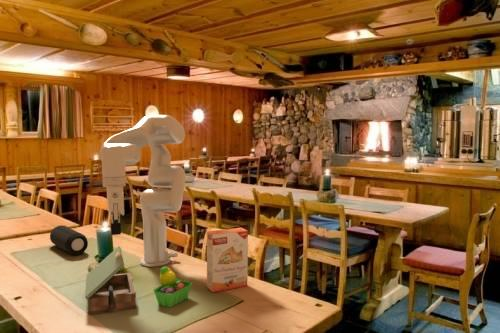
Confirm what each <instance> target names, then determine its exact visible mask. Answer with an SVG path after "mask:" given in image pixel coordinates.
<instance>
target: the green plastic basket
mask: <svg viewBox="0 0 500 333" xmlns="http://www.w3.org/2000/svg"><path fill="white" fill-rule="evenodd" d="M159 271H160V272H159V283H160V286H158V287H156V288H154V289H153V293H154V295H155V298H156V301H157V303H158V305H161V306H163V307H166V308H167V307H168V308H171V307H173V306H175V305H177V304H179V303H180V302H182V301H184V300H187V299H188V298H189V294H190V291H191V290H190V289H191V287H192V284H193V283H192V282H190V281H184V280H182V279H177V275H176V274H175V272H174V271H173V270H172V269H171V268H170V267H168V266H161V268H160V270H159Z"/></svg>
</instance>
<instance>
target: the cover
mask: <svg viewBox="0 0 500 333" xmlns="http://www.w3.org/2000/svg"><path fill="white" fill-rule="evenodd" d="M124 267H125V262H124V256H123V253H122V247H121V246H120V245H118V246H117V247H116V248H115V249H114V250H113V251H111V252H110V253H109V254H108V255H107V256H105V257H104V259H103V260H101V262H99V263H98V264H97V265H96V266H95V267H94V268H93V269H92V270H90V271H89V272H88V273H87V274H86V278H85V290H84V291H85V293H84V298H85V299H86V300H88V298H90V297H91V296H92V295H93V294H94V293H95V292H96V291H97V290H98V289H99V288H100V287H102V286H103V285H104V284H105V283H106V282H107V281H108V280H109V279H110V278H111V277H113V276H114V275H115V274H118V272H119V271H120V270H122V269H123V268H124Z"/></svg>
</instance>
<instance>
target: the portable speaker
mask: <svg viewBox="0 0 500 333" xmlns="http://www.w3.org/2000/svg"><path fill="white" fill-rule="evenodd" d="M49 239H50V242H51V243H52V244H54V245H55V246H57V247H58V248H60V249H61V250H63V251H64V252H67V253H68V254H70V255H73V256H77V255H80V254H83V253H84V252H85V251H86V250H87V248H88V245H89V242H88V238H87V236H86V235H85V234H83V233H81V232H78V231H77V230H75V229H72V228H71V227H68V226H66V225H57V226H55V227H54V228H53V229H52V230H51V232H50V234H49Z"/></svg>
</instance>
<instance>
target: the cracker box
mask: <svg viewBox="0 0 500 333" xmlns="http://www.w3.org/2000/svg"><path fill="white" fill-rule="evenodd" d="M248 251H249V230H247V229H245V228H243V227H236V228H226V229H218V230H209V231H206V287H207V289H208V290H210V291H211V292H212V293H215V292H216V293H217V292H221V291H227V290H232V289H238V288H243V287H247V286H248V275H249V274H248V273H249V272H248V271H249V270H248V267H249V266H248V265H249V262H248V261H249V260H248V257H249V256H248V255H249V252H248Z"/></svg>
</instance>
